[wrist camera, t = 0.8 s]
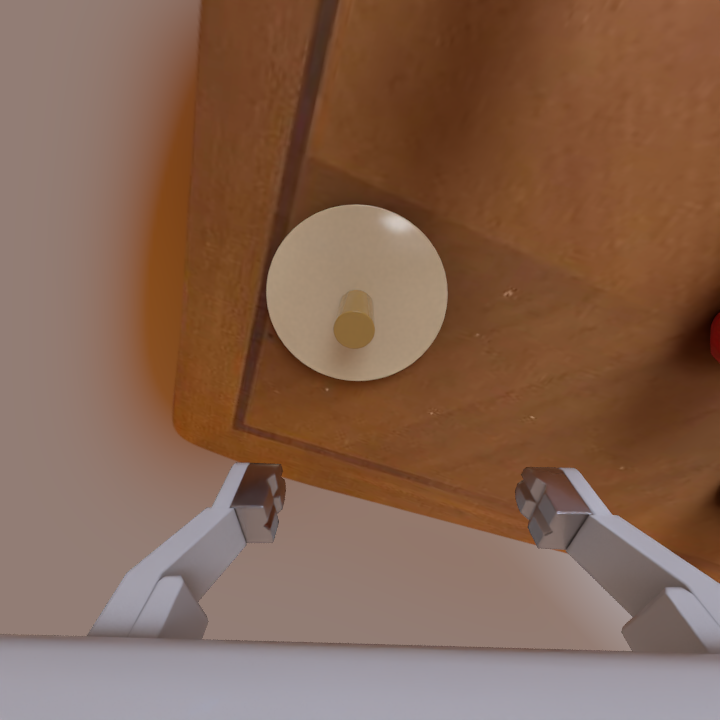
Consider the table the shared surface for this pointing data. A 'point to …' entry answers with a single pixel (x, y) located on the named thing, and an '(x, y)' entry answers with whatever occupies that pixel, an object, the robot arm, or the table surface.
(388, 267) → the tin lid
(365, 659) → the robot arm
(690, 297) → the table surface
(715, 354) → the apple
